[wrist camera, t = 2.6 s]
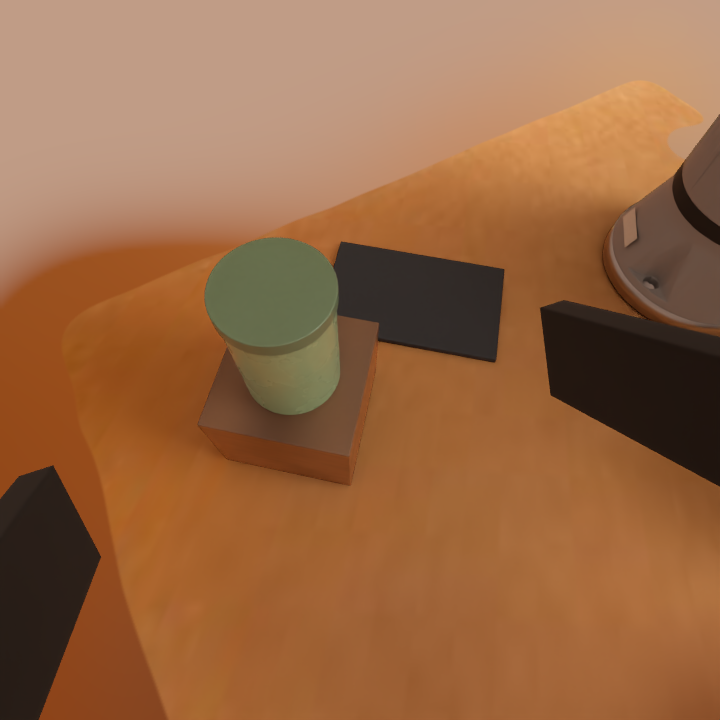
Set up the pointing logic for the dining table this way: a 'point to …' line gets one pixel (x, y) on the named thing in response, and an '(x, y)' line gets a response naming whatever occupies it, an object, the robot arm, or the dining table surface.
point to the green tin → (279, 321)
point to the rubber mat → (422, 299)
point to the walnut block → (298, 415)
